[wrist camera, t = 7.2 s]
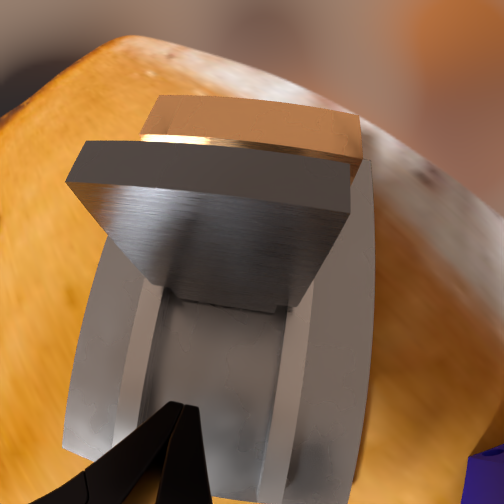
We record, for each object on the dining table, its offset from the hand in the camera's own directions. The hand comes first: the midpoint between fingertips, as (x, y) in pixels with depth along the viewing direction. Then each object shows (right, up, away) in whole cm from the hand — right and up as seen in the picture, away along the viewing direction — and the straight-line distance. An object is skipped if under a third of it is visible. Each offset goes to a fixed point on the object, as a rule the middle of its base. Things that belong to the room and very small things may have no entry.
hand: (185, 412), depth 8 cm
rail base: (+1, +2, +8) cm, 8 cm away
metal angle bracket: (+1, +7, +8) cm, 11 cm away
